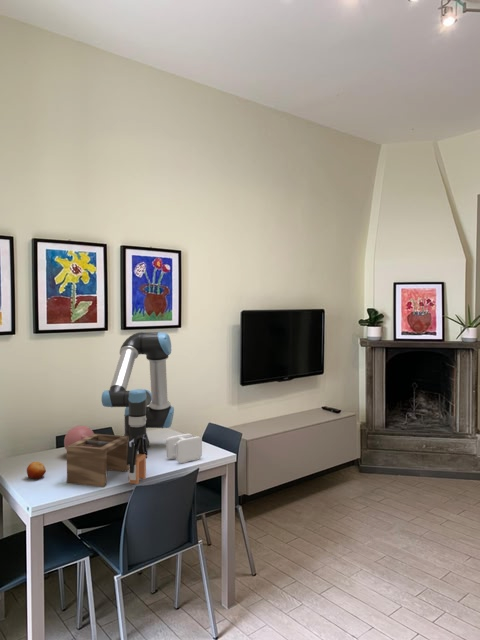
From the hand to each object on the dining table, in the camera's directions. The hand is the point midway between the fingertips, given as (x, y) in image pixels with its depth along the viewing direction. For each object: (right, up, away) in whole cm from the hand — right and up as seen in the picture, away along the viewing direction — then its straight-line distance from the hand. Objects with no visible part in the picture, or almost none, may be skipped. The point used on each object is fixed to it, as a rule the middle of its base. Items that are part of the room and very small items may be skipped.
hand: (137, 476), depth 209 cm
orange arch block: (0, -2, 0) cm, 2 cm away
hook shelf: (-18, -2, +5) cm, 19 cm away
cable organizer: (+17, -2, +30) cm, 34 cm away
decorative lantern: (-36, -1, +33) cm, 49 cm away
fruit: (-46, -2, +3) cm, 46 cm away
